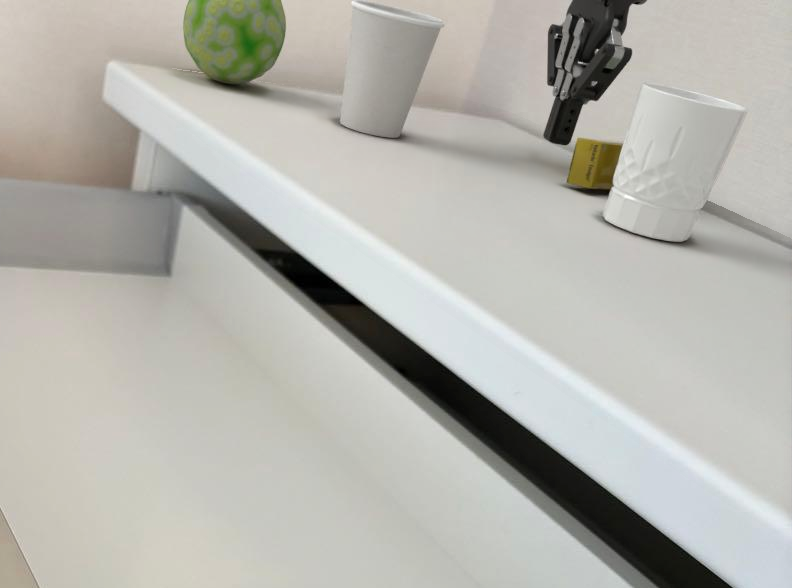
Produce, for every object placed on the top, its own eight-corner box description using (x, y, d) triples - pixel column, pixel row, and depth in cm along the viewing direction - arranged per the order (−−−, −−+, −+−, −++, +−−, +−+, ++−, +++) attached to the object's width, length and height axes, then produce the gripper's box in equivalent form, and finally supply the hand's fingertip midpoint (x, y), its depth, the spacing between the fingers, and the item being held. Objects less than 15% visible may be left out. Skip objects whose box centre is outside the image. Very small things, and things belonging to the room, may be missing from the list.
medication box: (636, 187, 103) (649, 142, 101) (661, 193, 101) (675, 147, 100) (563, 183, 95) (576, 134, 94) (589, 189, 94) (603, 140, 92)
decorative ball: (292, 100, 105) (315, -14, 100) (198, 88, 101) (218, -32, 96) (247, 77, 112) (267, -31, 107) (158, 64, 108) (175, -49, 103)
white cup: (671, 223, 90) (721, 97, 85) (710, 252, 84) (767, 116, 79) (582, 206, 89) (627, 76, 84) (614, 233, 82) (666, 94, 77)
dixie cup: (308, 118, 99) (334, -3, 94) (352, 114, 105) (378, 1, 100) (389, 144, 96) (420, 20, 90) (428, 139, 102) (460, 23, 97)
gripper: (699, -48, 90) (622, 166, 99) (625, -61, 101) (561, 133, 110) (619, -67, 88) (547, 153, 97) (552, -79, 99) (493, 120, 108)
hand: (555, 142), depth 103 cm, fingers closed
